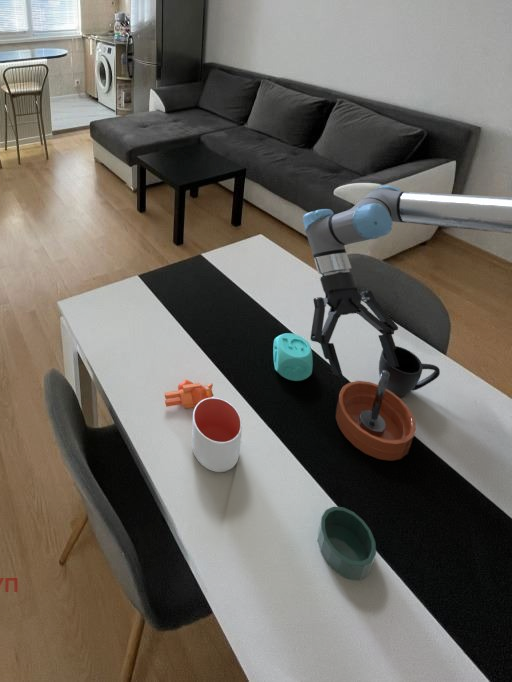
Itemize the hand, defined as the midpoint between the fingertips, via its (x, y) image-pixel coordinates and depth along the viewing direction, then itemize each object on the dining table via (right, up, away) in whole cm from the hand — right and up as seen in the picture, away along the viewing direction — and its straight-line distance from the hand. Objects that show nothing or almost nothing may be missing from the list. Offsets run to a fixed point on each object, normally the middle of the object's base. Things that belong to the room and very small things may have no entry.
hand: (366, 370), depth 96 cm
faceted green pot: (-16, -22, -20) cm, 33 cm away
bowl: (+1, -13, 0) cm, 13 cm away
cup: (-35, -16, -3) cm, 38 cm away
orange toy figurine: (-38, -12, +9) cm, 41 cm away
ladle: (+1, -12, 0) cm, 12 cm away
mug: (+14, -9, +8) cm, 19 cm away
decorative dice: (-11, -7, +15) cm, 20 cm away
